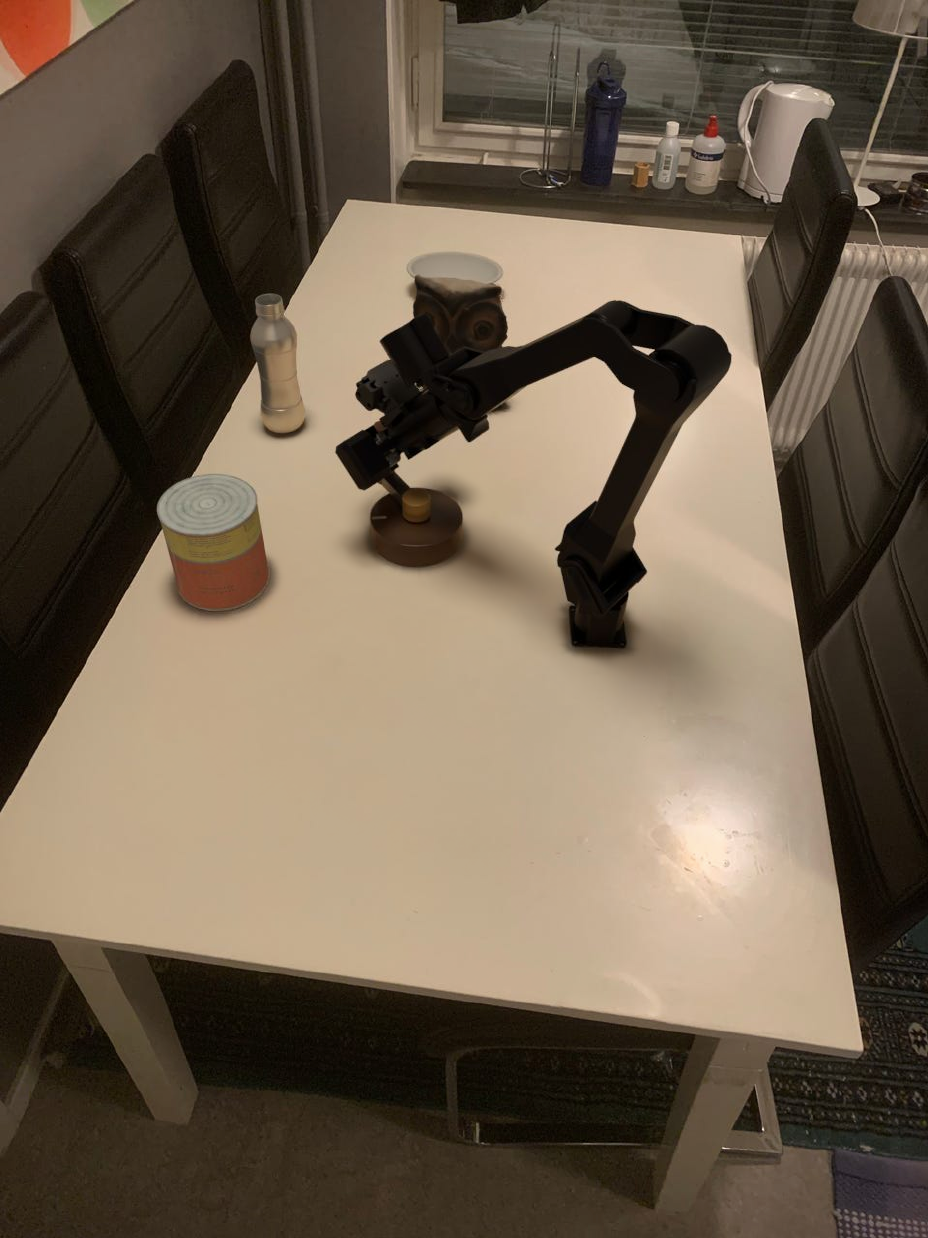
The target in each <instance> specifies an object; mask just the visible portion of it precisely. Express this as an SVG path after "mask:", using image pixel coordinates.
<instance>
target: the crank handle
mask: <svg viewBox="0 0 928 1238" xmlns="http://www.w3.org/2000/svg"><path fill="white" fill-rule="evenodd" d="M373 425H374V427H375V428H376V430H377V432H378V433H380V432H381V431H383V430H385V429H386V428H388V427H386V428H384V426H383V425H382V423H381V422H380V420H378V421H375V422H373ZM388 439H390V437H388ZM393 447H394V446H393ZM392 452H393V451H392ZM377 484H378V485H380V486H382V487H383V488H384V489H385V490H386V492H387V493H388V494H389V493H390V494H391V496H392V497H393V498H394V499H395V500H396V501H397V502H398V503H399V504H400V505H401V506H402V513H403V517H404V518H405V519H406V520H408V521H410V522H423V521H425V520H427V519H428V518H429V517H430V505H431V497H430V495H429V493H428V492H426V491H425V490H422V489H411V488H412V487H411V486H409V484H407V482H405V481H404V479H403V478H402V477H401V476H400V475H399V474H398V473H397V472H396V469H395V470H393V471H392V472H391V474H390V475H388V476H387V477H385V478H384V479H382V480H381V481H379V482H378V483H377Z"/></svg>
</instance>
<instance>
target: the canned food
mask: <svg viewBox="0 0 928 1238" xmlns="http://www.w3.org/2000/svg"><path fill="white" fill-rule="evenodd" d="M258 502H259V501H258V495H257V491H256V490H255V488H254V487H253V486H252V485H251V484H250V483H249V482H247V481H246V480H244V479H242V478H239V477H238V476H234V475H230V474H224V473H205V474H200V475H194V476H190V477H188V478H184V479H182V480H180V481H178V482H176V483H174V484H173V485H171V486H170V487H169V488H168V489H166V491H164V492H163V494H162V495H161V496H160V498H159V499H158V501H157V505H156V513H157V517H158V519H159V522H160V526H161V529H162V532H163V536H164V540H165V544H166V547H167V552H168V555H169V559H170V562H171V567H172V571H173V574H174V578H175V581H176V589H177V592H178V594H179V596H180V597H181V599H182V600H183V601H184V602H185V603H187V604H188V605H190V606H192V607H194V608H196V609H200V610H203V611H208V612H224V611H225V612H226V611H231V610H235V609H239V608H242V607H244V606H246V605H249V604H250V603H252V602H254V601H255V600H256V599H258V598H259V597H260V596H261V595H262V594H263V593H264V592H265V590H266V589H267V587H268V585H269V582H270V579H271V572H270V568H269V566H268V559H267V553H266V547H265V540H264V535H263V529H262V523H261V517H260V512H259V505H258Z"/></svg>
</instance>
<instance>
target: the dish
mask: <svg viewBox="0 0 928 1238" xmlns="http://www.w3.org/2000/svg"><path fill="white" fill-rule="evenodd" d="M405 269H406V272H407V273H408V275H409V276H410V277H411V278H413V279H415V276H416V275H420V276H421V277H432V278H438V277H443V278H458V279H461V280H473V281H476V282H480V283H484V284H490V285H494V283H497V282H498V281H500V280H501V279H502V278H503V275H504V269H503V267H502V265H500V264H499V263H498V262H496V261H495V260H493V259H491V258H488V257H486V256H483V255H480V254H476V253H471V252H465V251H464V252H463V251H434V252H429V253H424V254H420V255H418V256H414V257H413V258H411V259H410V260H409V261H408V262H407V264H406V268H405Z"/></svg>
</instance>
